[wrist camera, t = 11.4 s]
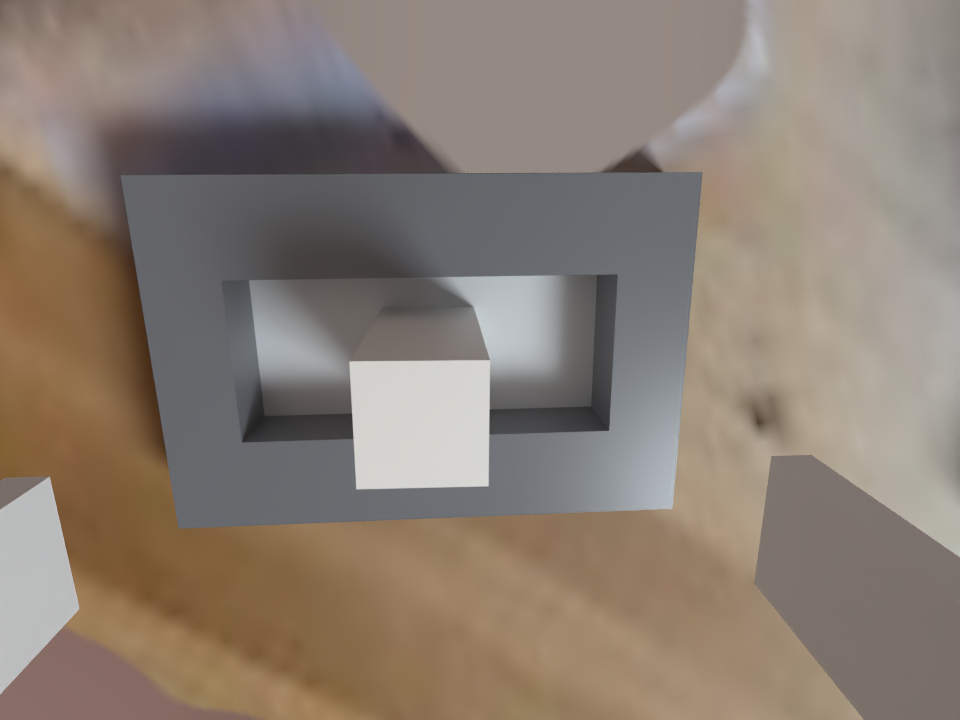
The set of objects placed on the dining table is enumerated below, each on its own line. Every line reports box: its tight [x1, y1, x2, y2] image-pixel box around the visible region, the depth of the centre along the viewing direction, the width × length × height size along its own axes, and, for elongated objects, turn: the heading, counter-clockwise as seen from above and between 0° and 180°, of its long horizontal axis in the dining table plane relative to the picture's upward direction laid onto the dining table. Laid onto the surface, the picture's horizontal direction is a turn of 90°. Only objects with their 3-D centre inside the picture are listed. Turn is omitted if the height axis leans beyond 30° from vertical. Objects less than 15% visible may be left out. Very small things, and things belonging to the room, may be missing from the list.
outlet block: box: [120, 172, 702, 528], centre depth 24 cm, size 21×14×4 cm, turn 90°
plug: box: [349, 307, 490, 489], centre depth 21 cm, size 4×4×9 cm
